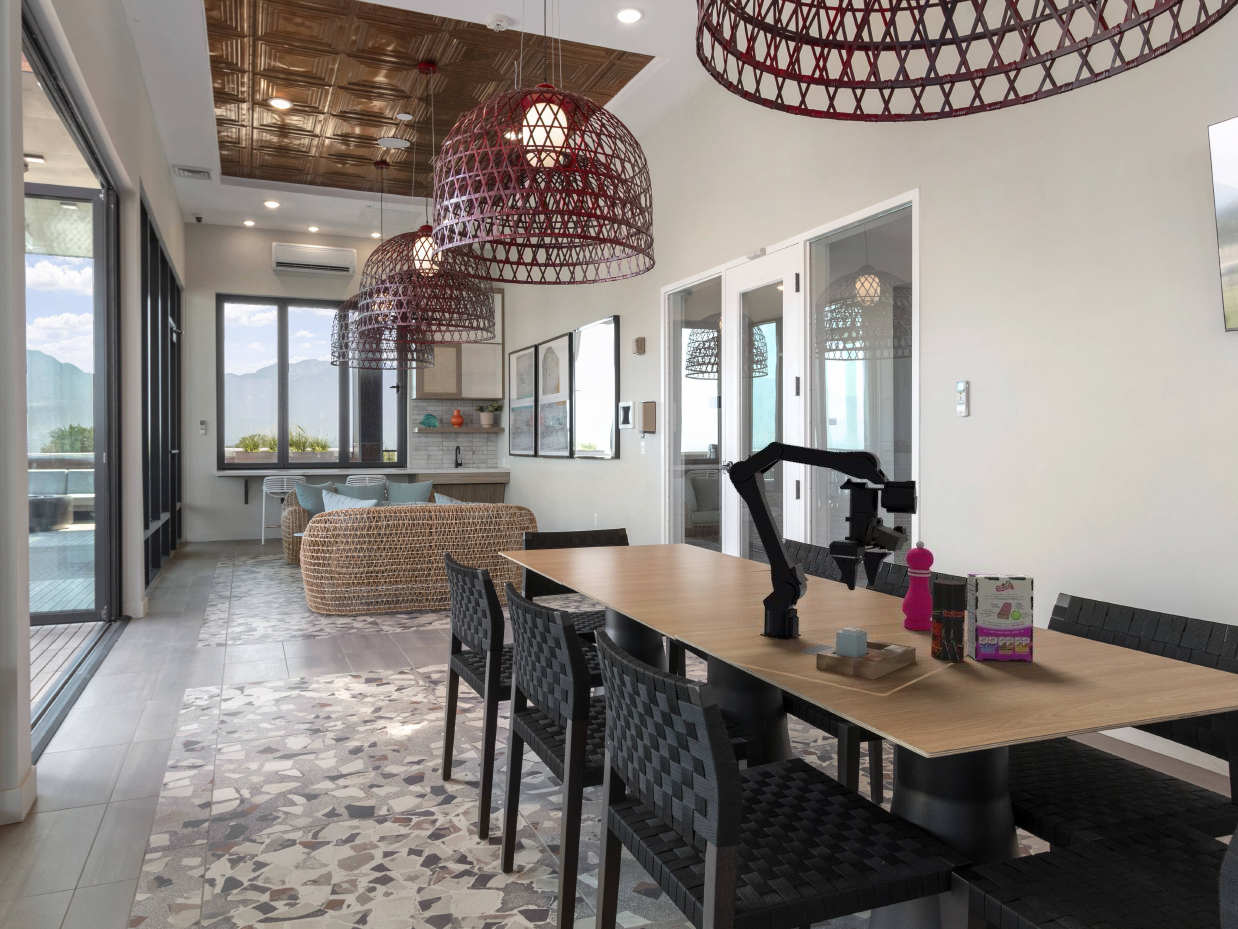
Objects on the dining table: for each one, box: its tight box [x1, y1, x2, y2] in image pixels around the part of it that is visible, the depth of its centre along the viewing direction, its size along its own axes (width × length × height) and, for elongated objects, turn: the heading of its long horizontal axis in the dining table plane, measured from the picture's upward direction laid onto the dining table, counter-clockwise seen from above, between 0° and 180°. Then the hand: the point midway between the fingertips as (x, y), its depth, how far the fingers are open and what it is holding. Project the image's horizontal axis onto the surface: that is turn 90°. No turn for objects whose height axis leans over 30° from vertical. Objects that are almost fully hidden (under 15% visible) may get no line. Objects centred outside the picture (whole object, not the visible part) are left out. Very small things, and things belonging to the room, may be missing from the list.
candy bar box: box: [966, 573, 1035, 663], centre depth 163 cm, size 11×5×16 cm, turn 88°
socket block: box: [815, 638, 917, 680], centre depth 154 cm, size 11×18×3 cm, turn 138°
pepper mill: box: [901, 540, 935, 631], centre depth 191 cm, size 7×7×20 cm
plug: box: [835, 626, 868, 658], centre depth 152 cm, size 4×4×8 cm
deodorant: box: [930, 579, 966, 664], centre depth 161 cm, size 6×6×15 cm
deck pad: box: [798, 644, 835, 656], centre depth 164 cm, size 9×9×1 cm
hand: (862, 587), depth 171 cm, fingers open, 9 cm apart
